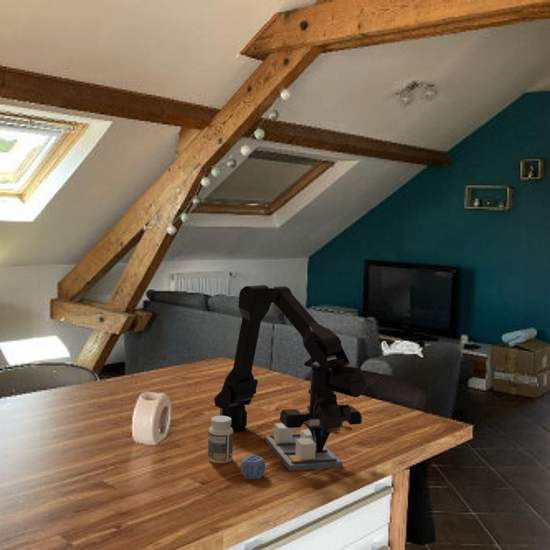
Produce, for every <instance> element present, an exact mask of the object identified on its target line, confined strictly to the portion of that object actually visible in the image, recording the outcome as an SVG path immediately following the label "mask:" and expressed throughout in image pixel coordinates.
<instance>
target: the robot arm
mask: <svg viewBox="0 0 550 550" xmlns="http://www.w3.org/2000/svg"><path fill="white" fill-rule="evenodd" d="M272 303H273V304H274V305H275V306H276V307H277V309H278V310H279V311H280V312H281V313H282V315H283V316H284V317H285V318H286V319H287V320H288V322H289V323H290V324H291V325H292V326H293V327H294V329H295V330H296V331H297V333H299V335H300V336H301V338H302V344H303V347H304V348H305V351H306V352H307V353H308V355H309V357H310V358H309V359H308V360H306V361H305V362H304V363H303V365H304V366H305V367H308V368H310V369H311V370H310V371H311V373H310V386H309V387H310V388H308V395H309V405H307V411H308V412H305V413H304V412H300V410H299V409H298V408H290V409H289V408H288V409H282V410H281V412H280V413H279V421H280V423H283V424H284V425H285V426H286V427H287V428H293V429H297V428H302V427H303V425H304V426H305V427H306V428H307V429H308V430H310V432H311V435H312V437H313V440H314V442H315V443H316V450H317V452H318V453H321V452H322V450H323V448H324V445H325V446H326V442H327V441H328V438H329V437H330V435H331V433H332V432H333V431H334V430H336V429H340V428H342V425H343V423H344V422H347V424H349V425H351V426H353V425H361V424H362V419H363V416H362V413H361V412H360V411H359V410H358V409H357V408H355V407H354V406H353V405H352V406H351V405H350V404H338V399H337V394H336V393H338V394H342V395H345V396H349V397H353V398H359V397H360V396H361V395H362V394H363V393H364V391H365V387H366V379H365V376H364V374H363V373H362V372H361V367H360V366H358V365H350V360H349V359H348V356H347V354H346V351H345V350H344V347H343V345H342V341H341V338H340V337H339V336H338V335H337V334H336V333H334V332H333V331H332V330H331V329H330V328H327V327H326V326H323V325H321V324H320V323H319V322H318V321H316V319H315V318H314V317H313V316H312V315H311V314H310V313H309V312H308V310H307V308H305V306H303V304H301V302H300V301H299V300H298V299H297V298H296V296H294V294H293V293H292V290H291V288H290V287H288V286H285V285H283V286H282V285H281V286H280V285H279V286H273V287H270V288H269V286H267V285H266V284H260V285H245V286H244V287H243V288H240V291H239V294H238V309H239V313H240V315H241V322H240V327H239V334H238V339H237V345H236V350H235V356H234V361H233V366H232V369H231V370H230V371H229V373H228V374H227V376H226V377H225V379H224V382H223V385H222V388H221V391H219V392H218V393H217V394H216V396H214V398H213V400H214V405H215V407H217V408H219V416H227V417H230V418H231V425H230V427H231V428H232V429H233V432H241V431H243V432H245V431H247V428H246V427H247V425H248V424H247V423H248V411H247V410H246V406H249V405H250V404H251V402H252V399H253V398H254V397H255V394H257V386H258V383H259V381H258V379H256V378H255V376H254V374H253V372H252V371H253V365H254V360H255V355H256V350H257V344H258V339H259V334H260V329H261V323H262V321H263V319H264V318H265V317H266V315H267V314H268V312H269V311H270V308H271V306H272ZM334 358H335V359H334ZM343 421H344V422H343Z"/></svg>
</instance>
